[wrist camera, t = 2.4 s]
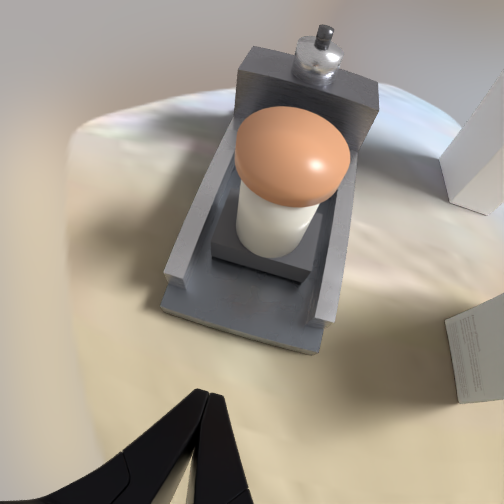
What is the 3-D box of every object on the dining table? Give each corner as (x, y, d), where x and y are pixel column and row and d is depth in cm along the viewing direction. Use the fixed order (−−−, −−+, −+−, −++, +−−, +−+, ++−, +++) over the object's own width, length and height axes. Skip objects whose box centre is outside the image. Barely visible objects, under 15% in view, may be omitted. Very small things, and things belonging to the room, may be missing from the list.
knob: (301, 288, 20) (359, 211, 11) (209, 261, 20) (204, 165, 12) (315, 224, 22) (365, 129, 13) (231, 200, 22) (241, 93, 14)
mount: (311, 355, 20) (363, 333, 13) (163, 311, 20) (134, 265, 13) (347, 140, 28) (377, 76, 21) (247, 111, 29) (256, 41, 21)
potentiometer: (332, 91, 19) (349, 44, 16) (287, 77, 19) (298, 29, 16) (336, 70, 21) (351, 27, 17) (295, 57, 21) (306, 14, 17)
